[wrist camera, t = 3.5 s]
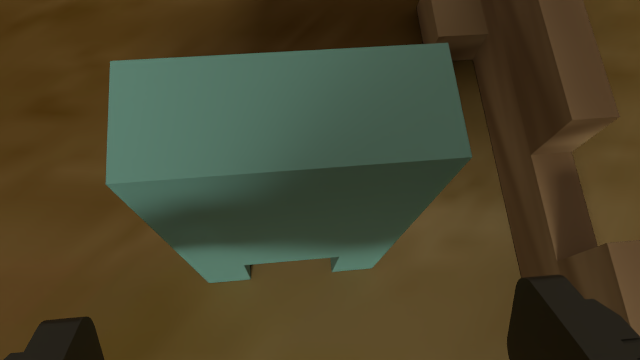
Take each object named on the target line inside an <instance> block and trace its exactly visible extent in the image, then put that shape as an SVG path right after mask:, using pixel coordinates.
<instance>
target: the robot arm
mask: <svg viewBox="0 0 640 360" xmlns="http://www.w3.org/2000/svg"><path fill="white" fill-rule="evenodd" d="M507 349H508V355H509V359H510V360H640V336H639V335H638V334H637V333H636V332H635V331H634V329H633V328H632V327H631V326H630V325H629V324H628V323H627V322H626V321H625V320H624V319H623V318H622V317H621V316H620V315H619V314H617V313H615V312H614V311H612V310H611V309H609V308H608V307H606V306H604V305H603V304H601V303H600V302H598V301H596V300H595V299H584V297H583V296H582V295H581V294H580V293H579V292H578V291H577V289H576V288H575V287H574V286H573V285H572V284H571V283H570V281H569V280H568V279H567V278H566V277H564V276H563V275H559V274H557V275H546V276H536V277H525V278H521V279H519V281H518V282H517V285H516V289H515V295H514V301H513V307H512V313H511V319H510V325H509V331H508V337H507ZM4 360H104V357H103V354H102V350H101V347H100V343H99V340H98V336H97V333H96V330H95V326H94V323H93V321H92V320H91V318H89V317H77V318H66V319H55V320H46V321H43V322H41V324H40V325H39V326H38V328H37V329H36V331H35V333H34V335H33V336H32V338H31V340H30V342H29V344H28V345H27V347H26V349H25V351H24V352H20V353H10V354H9V355H8V356H7V357H6V358H5V359H4Z"/></svg>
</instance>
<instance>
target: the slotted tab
mask: <svg viewBox="0 0 640 360" xmlns="http://www.w3.org/2000/svg"><path fill="white" fill-rule="evenodd" d="M471 158H472V154H471V150H470V145H469V140H468V135H467V131H466V126H465V121H464V116H463V111H462V107H461V102H460V97H459V92H458V87H457V83H456V78H455V73H454V68H453V63H452V59H451V54H450V49H449V44H448V43H435V44H416V45H398V46H379V47H361V48H343V49H324V50H306V51H288V52H269V53H251V54H232V55H214V56H196V57H177V58H159V59H141V60H122V61H110V81H109V109H108V137H107V165H106V185H107V186H108V187H109V188H110V189H111V190H112V191H113V192H114V193H115V194H117V195H118V196H119V197H120V198H121V199H122V200H123V201H124V202H125V203H126V204H127V205H128V206H129V207H130V208H131V209H132V210H133V211H134V212H135V213H136V214H137V215H139V216H140V217H141V218H142V219H143V220H144V221H145V222H146V223H147V224H148V225H149V226H150V227H151V228H152V229H153V230H154V231H155V232H156V233H157V234H158V235H160V236H161V237H162V238H163V239H164V240H165V241H166V242H167V243H168V244H169V245H170V246H171V247H172V248H173V249H174V250H175V251H176V252H177V253H178V254H179V255H180V256H182V257H183V258H184V259H185V260H186V261H187V262H188V263H189V264H190V265H191V266H192V267H193V268H194V269H195V270H196V271H197V272H198V273H199V274H200V275H201V276H202V277H204V278H205V279H206V280H207V281H208V282H209V283H215V282H226V281H237V280H248V279H251V275H250V265H251V264H263V263H274V262H285V261H296V260H308V259H319V258H331V268H332V272H335V271H346V270H357V269H368V268H372V267H373V266H374V265H375V264H376V263H377V262H378V261H379V260H380V258H381V257H382V256H383V255H384V254H385V253H386V252H387V251H388V250H389V248H390V247H391V246H392V245H393V244H394V243H395V242H396V241H397V240H398V239H399V237H400V236H401V235H402V234H403V233H404V232H405V231H406V230H407V229H408V227H409V226H410V225H411V224H412V223H413V222H414V221H415V220H416V219H417V218H418V216H419V215H420V214H421V213H422V212H423V211H424V210H425V209H426V208H427V206H428V205H429V204H430V203H431V202H432V201H433V200H434V199H435V198H436V196H437V195H438V194H439V193H440V192H441V191H442V190H443V189H444V188H445V187H446V185H447V184H448V183H449V182H450V181H451V180H452V179H453V178H454V177H455V175H456V174H457V173H458V172H459V171H460V170H461V169H462V168H463V167H464V165H465V164H466V163H467V162H468V161H469V160H470V159H471Z"/></svg>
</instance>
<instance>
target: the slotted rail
mask: <svg viewBox="0 0 640 360" xmlns="http://www.w3.org/2000/svg"><path fill="white" fill-rule="evenodd" d="M416 9H417V14H418V19H419V24H420V30H421V35H422V40H423V44H435V43H448V44H449V49H450V54H451V59H452V61H456V60H473V63H474V67H475V72H476V76H477V81H478V85H479V90H480V94H481V98H482V103H483V107H484V112H485V116H486V121H487V125H488V130H489V134H490V139H491V143H492V148H493V152H494V157H495V161H496V166H497V170H498V175H499V179H500V184H501V188H502V192H503V197H504V201H505V206H506V210H507V215H508V219H509V224H510V228H511V233H512V237H513V242H514V246H515V251H516V255H517V260H518V264H519V269H520V273H521V278H525V277H536V276H546V275H557V274H559V275H563V276H564V277H566V278H567V279H568V280H569V281H570V283H571V284H572V285H573V286H574V287H575V288H576V289H577V291H578V292H579V293H580V294H581V295H582V296H583V297H584V299H595V300H596V301H598V302H600V303H601V304H603V305H604V306H606V307H608V308H609V309H611V310H612V311H614V312H615V313H617V314H619V315H620V316H621V317H622V318H623V319H624V320H625V321H626V322H627V323H628V324H629V325H630V326H631V327H632V328H633V329H634V331H635V332H636V333H637V334H638V335H639V336H640V240H635V241H624V242H613V243H606V244H603V245H600V246H597V242H596V239H595V235H594V231H593V228H592V224H591V220H590V217H589V213H588V210H587V206H586V202H585V199H584V195H583V191H582V188H581V184H580V181H579V177H578V173H577V170H576V166H575V162H574V159H573V155H572V151H574V150H575V149H576V148H578V147H579V146H580V145H582V144H583V143H584V142H586V141H587V140H589V139H590V138H591V137H593V136H594V135H595V134H597V133H598V132H599V131H601V130H602V129H604V128H605V127H606V126H608V125H609V124H610V123H612V122H613V121H614V120H616V119H617V118H619V117H620V116H619V113H618V110H617V107H616V103H615V100H614V97H613V94H612V91H611V88H610V84H609V81H608V78H607V75H606V72H605V69H604V65H603V62H602V59H601V56H600V53H599V50H598V46H597V43H596V40H595V37H594V34H593V30H592V27H591V24H590V21H589V18H588V15H587V11H586V8H585V5H584V2H583V0H419V2H418V5H417V7H416Z"/></svg>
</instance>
